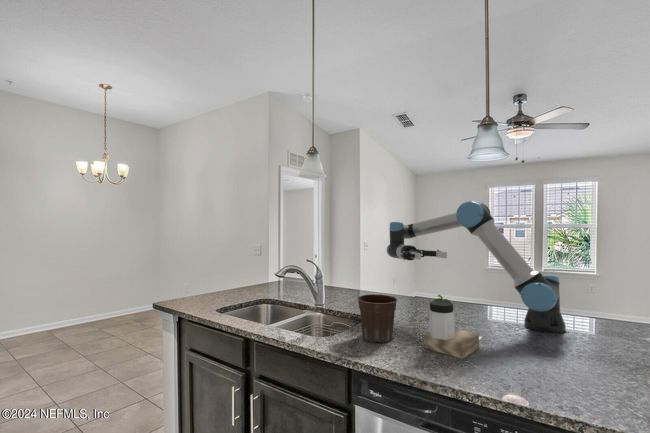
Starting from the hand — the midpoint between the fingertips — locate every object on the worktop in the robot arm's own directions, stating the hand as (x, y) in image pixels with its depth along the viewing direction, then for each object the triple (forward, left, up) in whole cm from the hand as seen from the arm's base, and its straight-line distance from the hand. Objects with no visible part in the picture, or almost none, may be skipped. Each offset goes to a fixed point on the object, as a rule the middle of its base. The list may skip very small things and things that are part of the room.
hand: (433, 255), depth 145 cm
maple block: (-16, +17, -32) cm, 39 cm away
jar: (-14, +21, -27) cm, 37 cm away
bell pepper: (+8, -22, -32) cm, 40 cm away
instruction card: (-14, +3, -32) cm, 35 cm away
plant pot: (+10, +28, -32) cm, 44 cm away
